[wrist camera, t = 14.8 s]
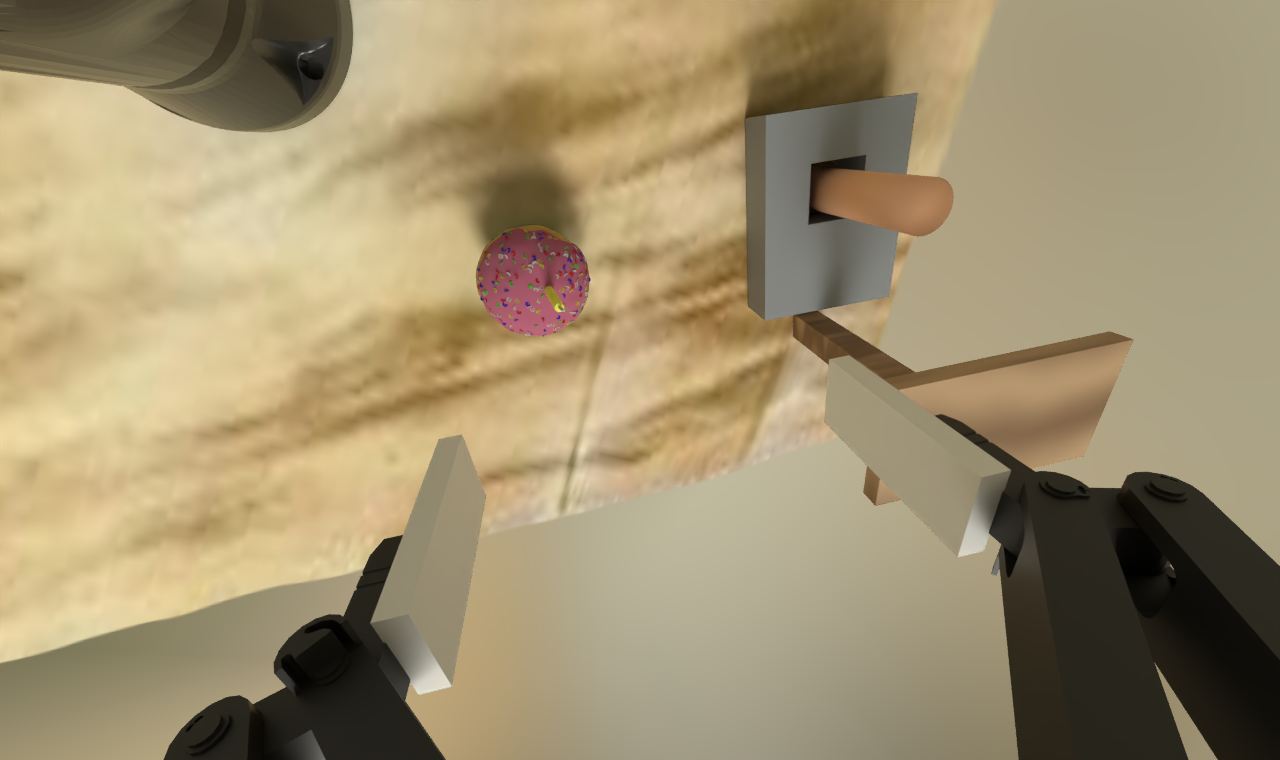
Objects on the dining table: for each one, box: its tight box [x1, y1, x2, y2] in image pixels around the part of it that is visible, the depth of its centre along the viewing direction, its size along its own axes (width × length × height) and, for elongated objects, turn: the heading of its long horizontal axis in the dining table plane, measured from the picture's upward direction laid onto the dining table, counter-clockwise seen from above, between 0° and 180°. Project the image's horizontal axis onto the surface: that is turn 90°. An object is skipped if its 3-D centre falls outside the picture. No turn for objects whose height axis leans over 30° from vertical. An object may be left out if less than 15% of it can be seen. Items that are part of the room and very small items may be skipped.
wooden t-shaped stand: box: [793, 311, 1133, 506], centre depth 35 cm, size 8×14×22 cm, turn 97°
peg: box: [809, 167, 953, 236], centre depth 34 cm, size 3×3×14 cm
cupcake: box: [476, 225, 590, 337], centre depth 34 cm, size 9×8×12 cm
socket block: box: [745, 93, 918, 320], centre depth 39 cm, size 16×12×4 cm
